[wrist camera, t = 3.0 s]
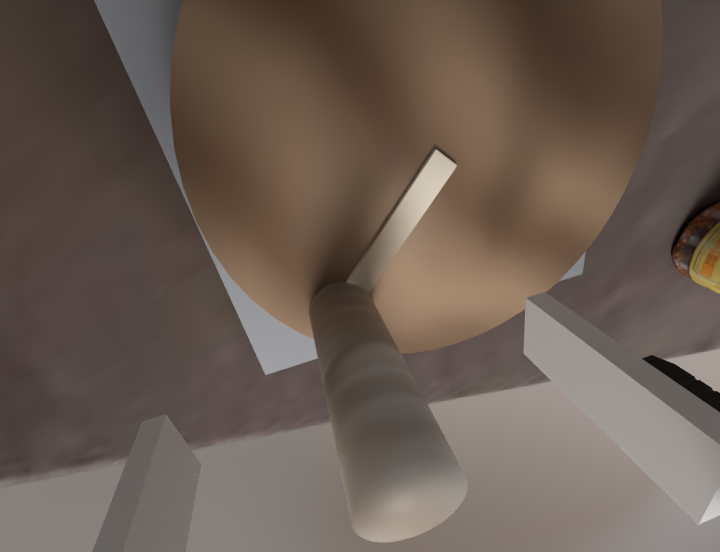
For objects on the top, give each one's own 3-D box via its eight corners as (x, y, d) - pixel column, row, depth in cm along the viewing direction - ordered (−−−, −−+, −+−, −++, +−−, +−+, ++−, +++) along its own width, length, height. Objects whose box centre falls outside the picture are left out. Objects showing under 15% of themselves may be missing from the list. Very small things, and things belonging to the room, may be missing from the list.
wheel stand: (42, -131, 11) (27, -146, 10) (635, -213, 14) (654, -229, 13) (265, 366, 22) (265, 374, 21) (573, 268, 25) (582, 273, 24)
